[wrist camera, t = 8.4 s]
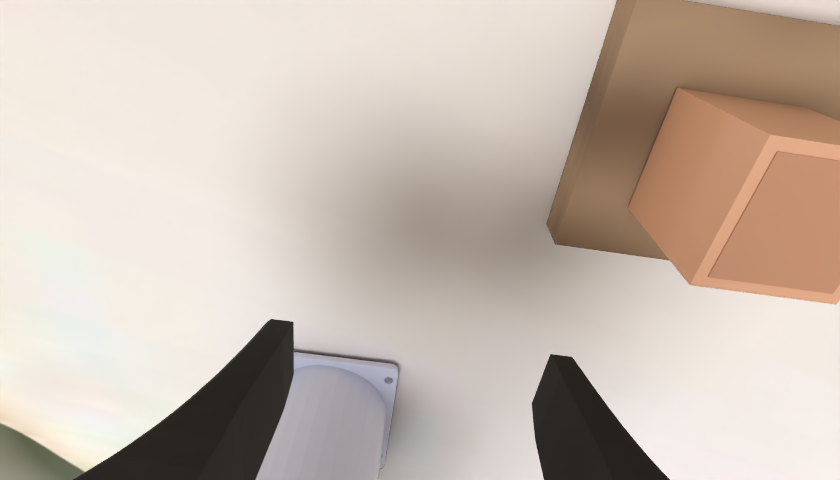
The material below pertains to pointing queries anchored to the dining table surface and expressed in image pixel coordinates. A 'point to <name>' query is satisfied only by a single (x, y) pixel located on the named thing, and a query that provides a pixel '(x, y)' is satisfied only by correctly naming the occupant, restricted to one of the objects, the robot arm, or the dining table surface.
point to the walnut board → (654, 90)
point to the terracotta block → (745, 196)
